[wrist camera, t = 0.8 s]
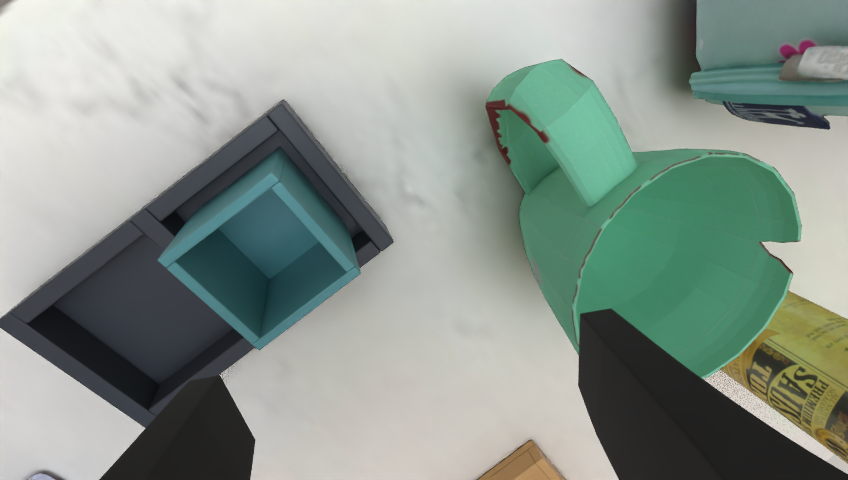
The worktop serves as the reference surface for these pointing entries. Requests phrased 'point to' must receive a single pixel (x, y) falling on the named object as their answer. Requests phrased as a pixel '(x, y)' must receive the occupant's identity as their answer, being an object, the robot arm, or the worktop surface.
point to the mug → (641, 221)
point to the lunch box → (774, 59)
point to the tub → (264, 250)
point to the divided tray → (169, 281)
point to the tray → (524, 466)
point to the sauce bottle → (801, 370)
